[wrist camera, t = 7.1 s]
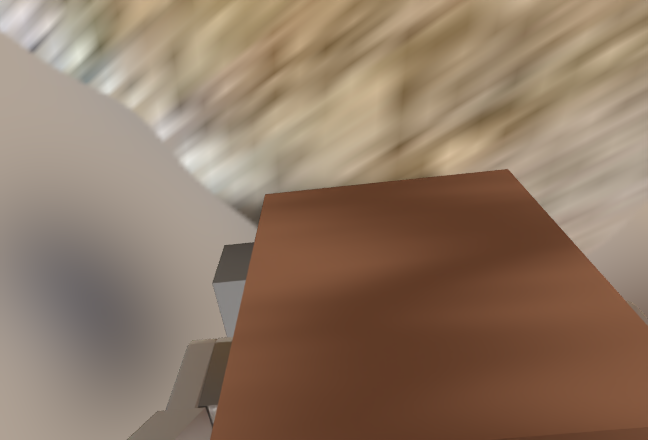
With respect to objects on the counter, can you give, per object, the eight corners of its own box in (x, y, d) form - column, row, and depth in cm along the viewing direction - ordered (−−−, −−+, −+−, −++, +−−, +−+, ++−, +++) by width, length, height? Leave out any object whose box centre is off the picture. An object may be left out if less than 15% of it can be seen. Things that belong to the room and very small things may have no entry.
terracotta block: (508, 169, 10) (732, 420, 4) (492, 350, 12) (626, 651, 7) (265, 194, 10) (205, 462, 5) (297, 367, 12) (282, 672, 7)
